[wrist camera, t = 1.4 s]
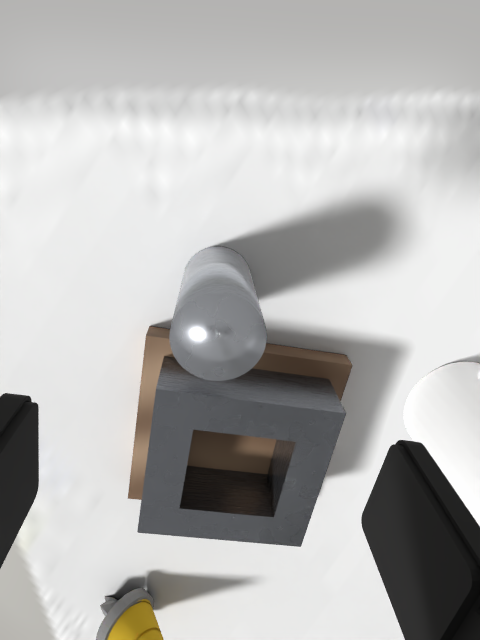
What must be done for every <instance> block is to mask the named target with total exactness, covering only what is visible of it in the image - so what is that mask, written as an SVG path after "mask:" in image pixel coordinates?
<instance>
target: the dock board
mask: <svg viewBox="0 0 480 640" xmlns="http://www.w3.org/2000/svg"><path fill="white" fill-rule="evenodd" d="M169 335H170V329H165V328H159V327H152V326H149V329H148V332H147V334H146V341H145V350H144V359H143V368H142V377H141V386H140V395H139V404H138V413H137V422H136V431H135V440H134V448H133V457H132V466H131V475H130V484H129V493H128V498H129V499H139V500H142V493H143V486H144V478H145V470H146V462H147V454H148V447H149V439H150V431H151V423H152V415H153V408H154V400H155V392H156V387H157V382H158V378H159V374H160V370H161V366H162V362H163V358H164V356H167V357H174V355H173V352H172V350H171V346H170V339H169ZM253 368H254V369H261V370H268V371H275V372H283V373H290V374H297V375H304V376H311V377H319V378H326V379H329V380H330V382H331V384H332V386H333V388H334V390H335V392H336V394H337V396H338V398H339V400H340V401H341V398H342V395H343V392H344V389H345V386H346V383H347V380H348V377H349V374H350V371H351V368H352V364H351V362H350V361H349V359H348V357H347V356H346V355H342V354H336V353H329V352H322V351H315V350H308V349H302V348H295V347H288V346H281V345H274V344H268V343H266V347H265V350H264V352H263V355H262V357H261V358H260V360H259V361H258V362H257V364H256V365H255V366H254V367H253ZM276 440H277V439H268V438H260V437H252V436H243V435H235V434H226V433H218V432H209V431H201V430H193V434H192V440H191V446H190V451H189V457H188V463H187V466H195V467H205V468H214V469H223V470H232V471H242V472H251V473H260V474H267V473H268V469H269V466H270V462H271V458H272V455H273V451H274V447H275V444H276Z"/></svg>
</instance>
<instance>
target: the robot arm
mask: <svg viewBox="0 0 480 640" xmlns="http://www.w3.org/2000/svg"><path fill="white" fill-rule="evenodd" d="M38 484H39V462H38V404H37V403H33V402H31V398H30V396H25V395H17V394H8V393H5V394H3V395H2V396H1V397H0V568H1V566H2V564H3V562H4V560H5V558H6V556H7V554H8V552H9V550H10V548H11V546H12V544H13V542H14V540H15V538H16V536H17V534H18V532H19V530H20V528H21V526H22V524H23V522H24V520H25V518H26V516H27V514H28V512H29V510H30V508H31V506H32V504H33V502H34V500H35V497H36V494H37V491H38ZM362 528H363V531H364V533H365V536H366V539H367V541H368V544H369V546H370V549H371V552H372V554H373V557H374V560H375V562H376V565H377V567H378V570H379V573H380V575H381V578H382V580H383V583H384V586H385V588H386V591H387V593H388V596H389V599H390V601H391V604H392V607H393V609H394V612H395V614H396V617H397V620H398V622H399V625H400V627H401V630H402V633H403V635H404V638H405V640H480V526H479V524H478V523H477V522H476V520H475V519H474V517H473V516H472V514H471V513H470V511H469V510H468V508H467V507H466V506H465V504H464V503H463V501H462V500H461V498H460V497H459V495H458V494H457V492H456V491H455V490H454V488H453V487H452V485H451V484H450V482H449V481H448V479H447V478H446V477H445V475H444V474H443V472H442V471H441V469H440V468H439V466H438V465H437V463H436V462H435V461H434V459H433V458H432V456H431V455H430V453H429V452H428V450H427V449H426V447H425V446H424V445H423V444H422V443H420V442H414V441H405V440H399V441H398V442H397V443H396V444H395V445H392V446H391V447H390V448H389V451H388V453H387V456H386V458H385V460H384V463H383V465H382V468H381V470H380V473H379V475H378V477H377V480H376V482H375V485H374V487H373V489H372V492H371V494H370V497H369V499H368V502H367V504H366V506H365V509H364V511H363V514H362Z"/></svg>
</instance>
